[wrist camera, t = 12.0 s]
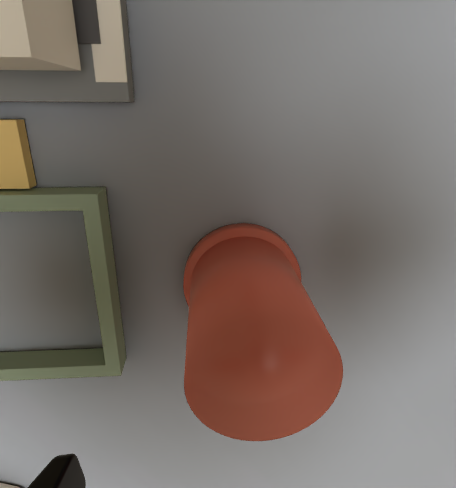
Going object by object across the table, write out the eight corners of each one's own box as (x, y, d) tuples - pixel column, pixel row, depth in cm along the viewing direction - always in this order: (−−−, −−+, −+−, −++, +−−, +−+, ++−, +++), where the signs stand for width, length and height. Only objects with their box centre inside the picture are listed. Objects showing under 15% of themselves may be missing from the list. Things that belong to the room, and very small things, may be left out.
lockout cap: (300, 222, 15) (365, 300, 9) (292, 322, 17) (342, 443, 11) (181, 224, 15) (167, 306, 9) (186, 326, 17) (177, 452, 11)
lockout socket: (97, 119, 13) (87, 121, 12) (126, 357, 17) (121, 375, 16) (-141, 119, 13) (-174, 120, 12) (-55, 365, 17) (-73, 383, 15)
